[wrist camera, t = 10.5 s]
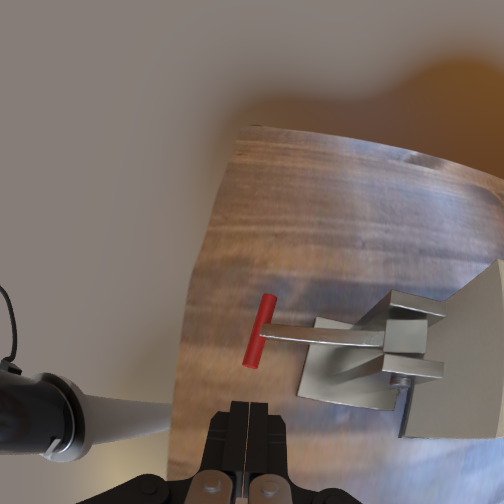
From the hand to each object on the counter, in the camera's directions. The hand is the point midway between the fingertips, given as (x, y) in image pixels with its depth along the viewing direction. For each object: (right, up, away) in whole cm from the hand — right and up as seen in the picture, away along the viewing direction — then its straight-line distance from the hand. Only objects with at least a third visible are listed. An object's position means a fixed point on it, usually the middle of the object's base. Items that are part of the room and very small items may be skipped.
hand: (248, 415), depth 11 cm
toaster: (+21, -7, +13) cm, 26 cm away
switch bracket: (+10, -4, +15) cm, 18 cm away
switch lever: (+6, 0, +9) cm, 11 cm away
